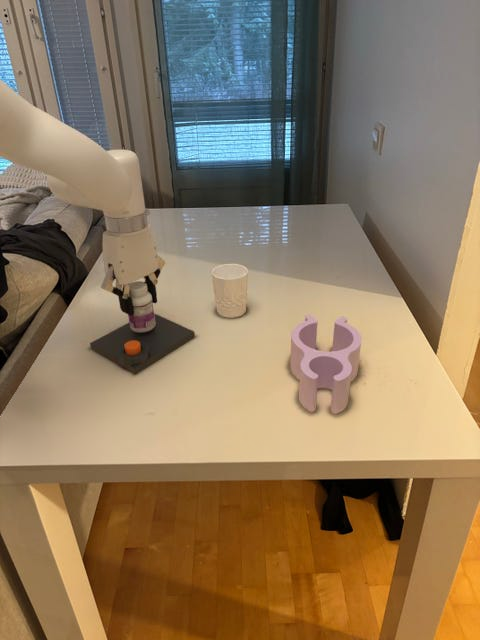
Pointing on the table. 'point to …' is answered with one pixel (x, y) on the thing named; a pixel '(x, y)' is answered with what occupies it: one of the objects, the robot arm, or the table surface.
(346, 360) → the clip
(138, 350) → the button
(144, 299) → the pill bottle
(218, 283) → the white cup
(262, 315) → the table surface
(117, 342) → the scale
